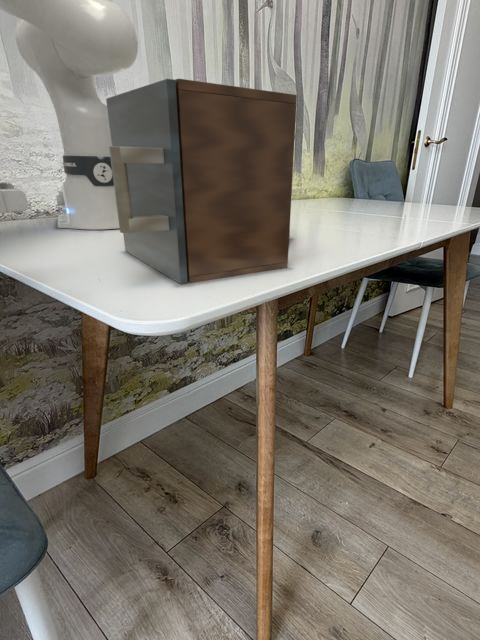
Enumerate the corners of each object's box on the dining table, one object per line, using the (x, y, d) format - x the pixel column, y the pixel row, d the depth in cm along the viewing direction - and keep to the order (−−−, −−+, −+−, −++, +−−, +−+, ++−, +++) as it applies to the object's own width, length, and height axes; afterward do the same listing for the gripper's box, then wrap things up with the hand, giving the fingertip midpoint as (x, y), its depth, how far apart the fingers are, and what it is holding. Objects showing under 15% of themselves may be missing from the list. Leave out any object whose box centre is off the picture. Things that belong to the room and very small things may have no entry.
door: (135, 291, 47) (108, 70, 37) (88, 255, 63) (61, 94, 53) (187, 283, 50) (175, 79, 41) (131, 250, 66) (113, 99, 57)
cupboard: (189, 284, 50) (177, 78, 41) (132, 251, 66) (114, 98, 57) (287, 268, 59) (297, 94, 49) (216, 242, 75) (212, 108, 65)
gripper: (-137, 222, 41) (15, 214, 48) (-188, 265, 26) (43, 245, 33) (-165, 155, 38) (1, 157, 45) (-239, 160, 23) (25, 163, 31)
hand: (19, 195), depth 39 cm, fingers open, 8 cm apart
